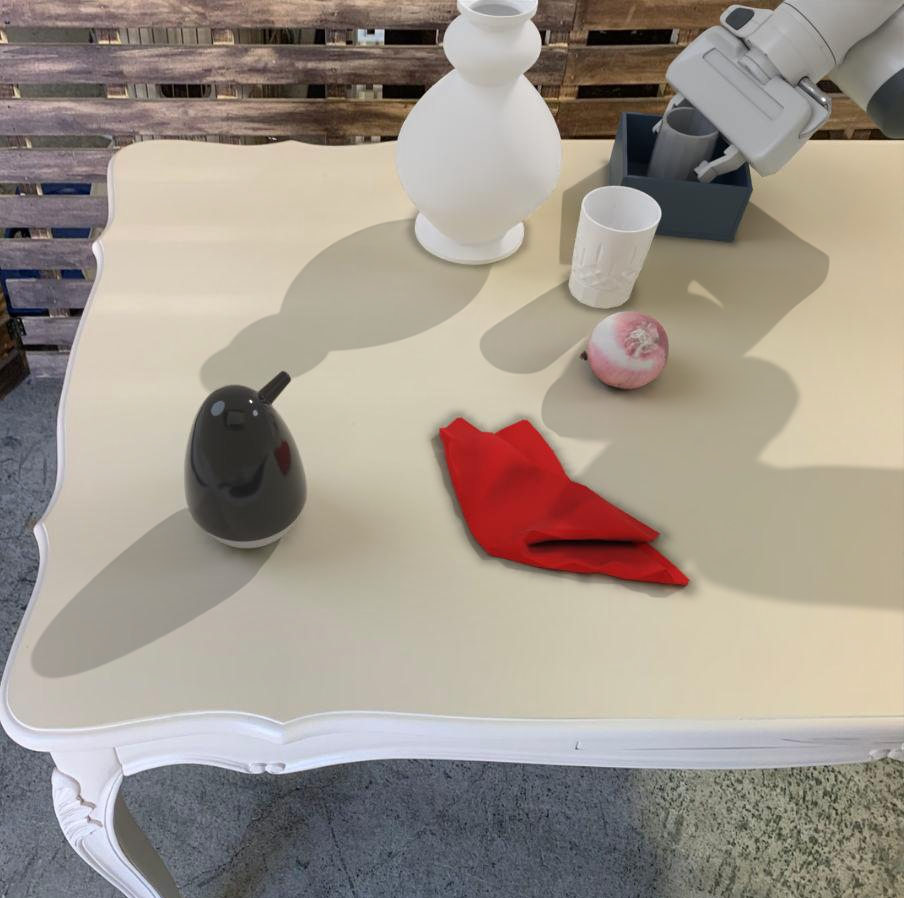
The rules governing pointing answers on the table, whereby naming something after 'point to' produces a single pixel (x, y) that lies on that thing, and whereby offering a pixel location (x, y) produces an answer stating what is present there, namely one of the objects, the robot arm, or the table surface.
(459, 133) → the decorative vase
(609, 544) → the cloth
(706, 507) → the table surface
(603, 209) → the white cup
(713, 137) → the steel cup
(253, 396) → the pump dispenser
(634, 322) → the onion
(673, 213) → the basket
